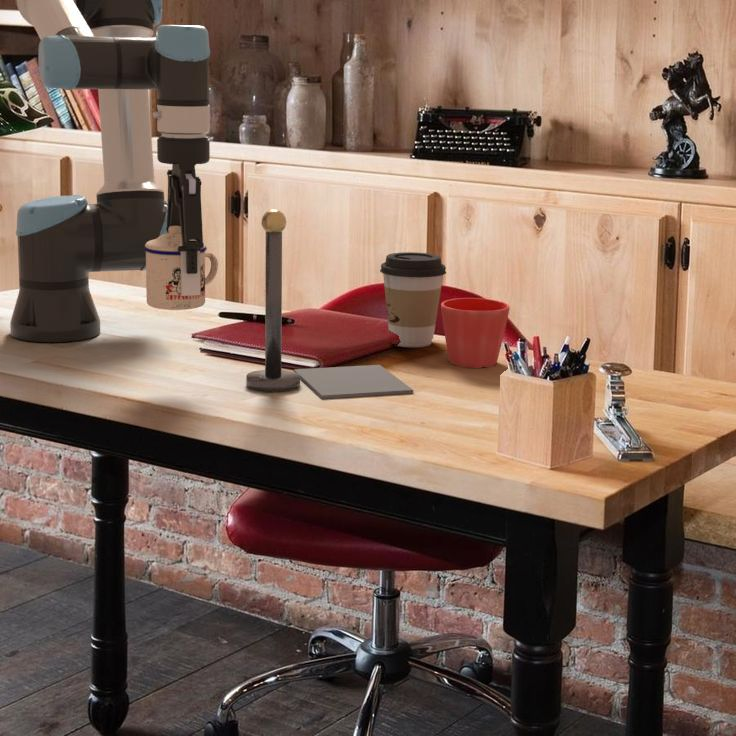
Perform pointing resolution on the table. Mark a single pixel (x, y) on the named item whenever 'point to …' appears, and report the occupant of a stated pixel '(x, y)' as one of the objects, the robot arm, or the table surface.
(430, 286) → the coffee cup
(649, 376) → the table surface
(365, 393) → the mat
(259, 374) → the post
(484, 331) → the flower pot
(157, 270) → the teacup with lid
